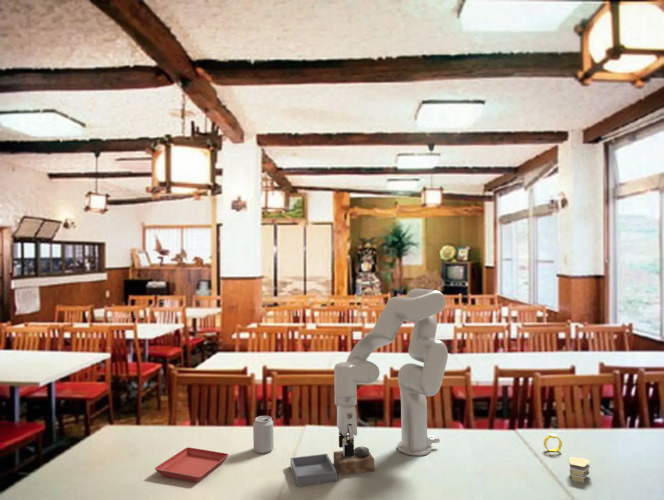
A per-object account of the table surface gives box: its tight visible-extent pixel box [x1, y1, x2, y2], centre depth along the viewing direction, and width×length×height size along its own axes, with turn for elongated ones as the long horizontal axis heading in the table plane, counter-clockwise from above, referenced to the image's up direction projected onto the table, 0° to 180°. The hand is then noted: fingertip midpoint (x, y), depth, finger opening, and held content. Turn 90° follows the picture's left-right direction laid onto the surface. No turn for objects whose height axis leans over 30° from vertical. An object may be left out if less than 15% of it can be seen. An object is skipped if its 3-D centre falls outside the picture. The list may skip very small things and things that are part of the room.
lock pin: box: [342, 437, 350, 459], centre depth 157 cm, size 2×2×10 cm
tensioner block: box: [333, 446, 375, 476], centre depth 157 cm, size 12×9×6 cm
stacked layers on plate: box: [568, 456, 591, 483], centre depth 148 cm, size 10×9×6 cm
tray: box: [290, 453, 338, 487], centre depth 153 cm, size 13×14×3 cm
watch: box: [543, 433, 563, 453], centre depth 167 cm, size 6×3×6 cm, turn 88°
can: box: [252, 415, 275, 454], centre depth 172 cm, size 8×8×12 cm
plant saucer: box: [154, 446, 229, 483], centre depth 158 cm, size 18×18×3 cm
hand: (346, 451), depth 157 cm, fingers open, 6 cm apart
